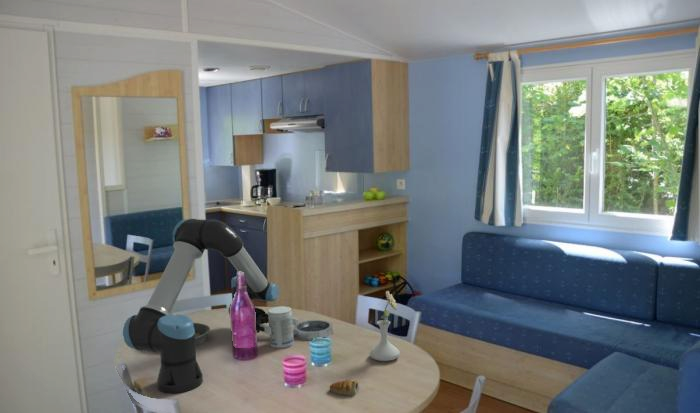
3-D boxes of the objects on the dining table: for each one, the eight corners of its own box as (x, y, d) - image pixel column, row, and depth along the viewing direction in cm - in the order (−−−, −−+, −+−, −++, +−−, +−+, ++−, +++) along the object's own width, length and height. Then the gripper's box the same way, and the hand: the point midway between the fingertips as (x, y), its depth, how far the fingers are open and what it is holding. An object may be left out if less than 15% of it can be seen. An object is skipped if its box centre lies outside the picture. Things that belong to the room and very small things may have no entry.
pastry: (327, 395, 185) (327, 384, 185) (332, 386, 192) (332, 375, 191) (356, 397, 183) (355, 385, 183) (360, 388, 190) (359, 377, 189)
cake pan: (201, 351, 228) (200, 341, 227) (140, 353, 229) (139, 342, 228) (216, 331, 252) (216, 321, 252) (161, 332, 253) (160, 322, 252)
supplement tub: (294, 340, 237) (292, 305, 235) (293, 348, 227) (291, 312, 226) (271, 341, 237) (269, 306, 235) (268, 349, 227) (266, 313, 225)
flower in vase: (390, 366, 206) (388, 298, 203) (363, 360, 212) (361, 295, 209) (407, 354, 217) (405, 289, 214) (381, 348, 223) (379, 286, 220)
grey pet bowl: (339, 333, 242) (339, 326, 242) (305, 342, 233) (305, 335, 233) (320, 324, 256) (320, 317, 255) (287, 331, 247) (287, 325, 247)
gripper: (278, 317, 254) (308, 327, 239) (229, 331, 237) (258, 344, 222) (277, 301, 253) (307, 310, 238) (228, 314, 236) (257, 325, 221)
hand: (284, 326), depth 230 cm, fingers open, 13 cm apart
